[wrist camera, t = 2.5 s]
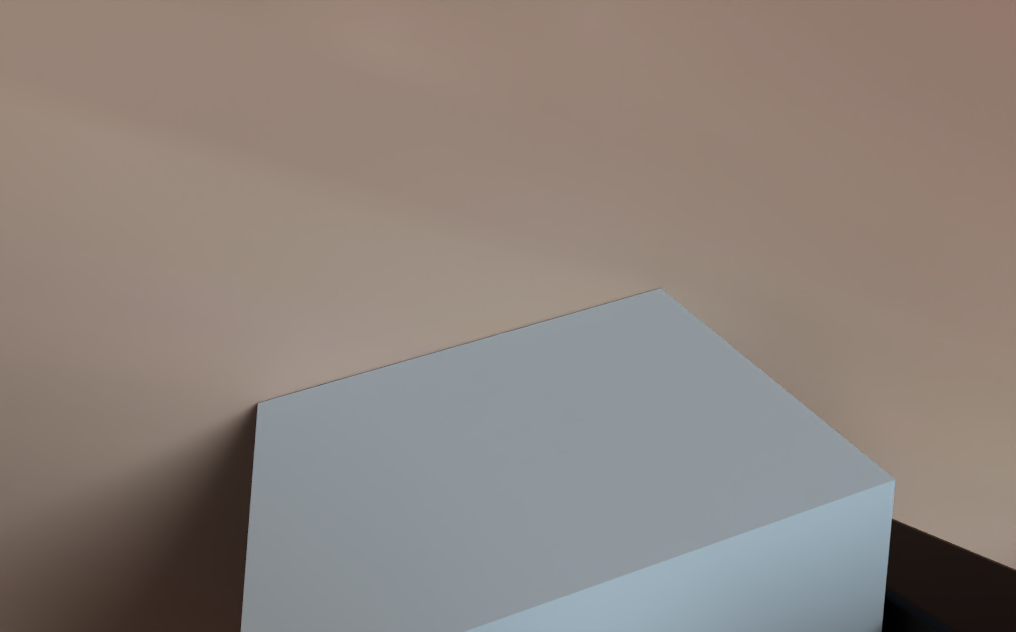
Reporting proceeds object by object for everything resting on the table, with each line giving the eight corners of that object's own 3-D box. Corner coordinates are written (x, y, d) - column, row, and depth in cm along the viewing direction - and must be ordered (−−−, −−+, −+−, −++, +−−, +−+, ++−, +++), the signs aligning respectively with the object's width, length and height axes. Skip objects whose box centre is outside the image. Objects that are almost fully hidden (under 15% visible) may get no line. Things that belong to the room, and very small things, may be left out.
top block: (660, 287, 9) (895, 479, 6) (685, 575, 11) (862, 841, 8) (257, 403, 8) (235, 712, 5) (370, 687, 10) (410, 1041, 7)
